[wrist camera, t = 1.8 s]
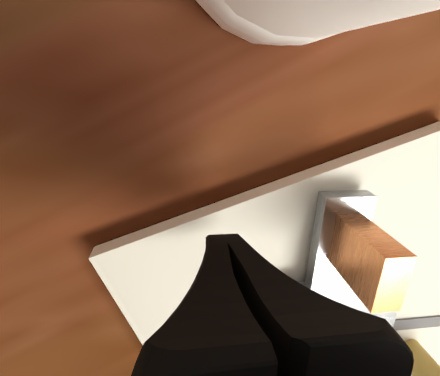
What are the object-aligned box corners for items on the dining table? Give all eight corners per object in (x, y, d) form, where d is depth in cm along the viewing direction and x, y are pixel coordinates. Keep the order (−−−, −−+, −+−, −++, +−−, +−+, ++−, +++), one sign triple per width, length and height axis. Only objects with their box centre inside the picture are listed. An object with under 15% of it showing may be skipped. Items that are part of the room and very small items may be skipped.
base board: (447, 367, 22) (519, 446, 17) (217, 451, 22) (228, 552, 17) (439, 121, 15) (560, 144, 10) (94, 246, 15) (55, 327, 10)
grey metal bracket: (365, 377, 19) (414, 456, 15) (243, 392, 18) (261, 480, 14) (420, 188, 14) (511, 231, 10) (258, 192, 13) (292, 243, 9)
